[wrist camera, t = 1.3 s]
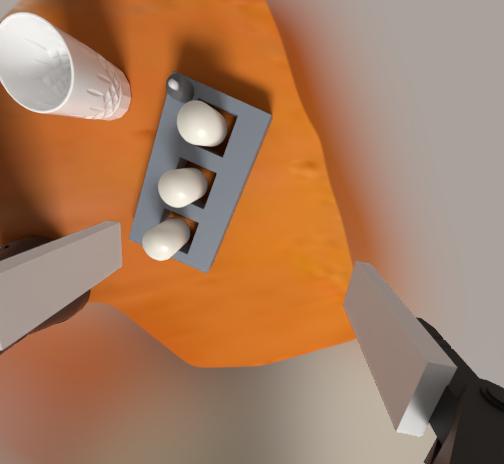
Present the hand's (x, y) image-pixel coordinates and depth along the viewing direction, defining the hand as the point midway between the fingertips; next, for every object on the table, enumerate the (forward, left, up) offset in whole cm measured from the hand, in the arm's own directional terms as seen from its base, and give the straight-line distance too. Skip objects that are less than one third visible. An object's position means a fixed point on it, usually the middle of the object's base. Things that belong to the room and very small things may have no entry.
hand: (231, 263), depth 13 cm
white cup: (-24, +5, -21) cm, 32 cm away
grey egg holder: (-9, -1, -21) cm, 23 cm away
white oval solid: (-9, -1, -18) cm, 20 cm away
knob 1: (-9, -8, -18) cm, 22 cm away
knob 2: (-9, +6, -18) cm, 21 cm away
